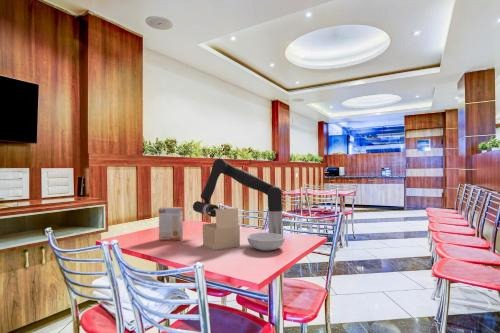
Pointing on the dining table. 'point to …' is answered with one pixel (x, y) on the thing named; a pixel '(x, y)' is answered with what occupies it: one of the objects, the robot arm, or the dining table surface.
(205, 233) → the carton
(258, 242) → the serving bowl
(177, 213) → the cracker box
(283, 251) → the dining table surface
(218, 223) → the carton flap
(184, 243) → the dining table surface
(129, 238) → the dining table surface
